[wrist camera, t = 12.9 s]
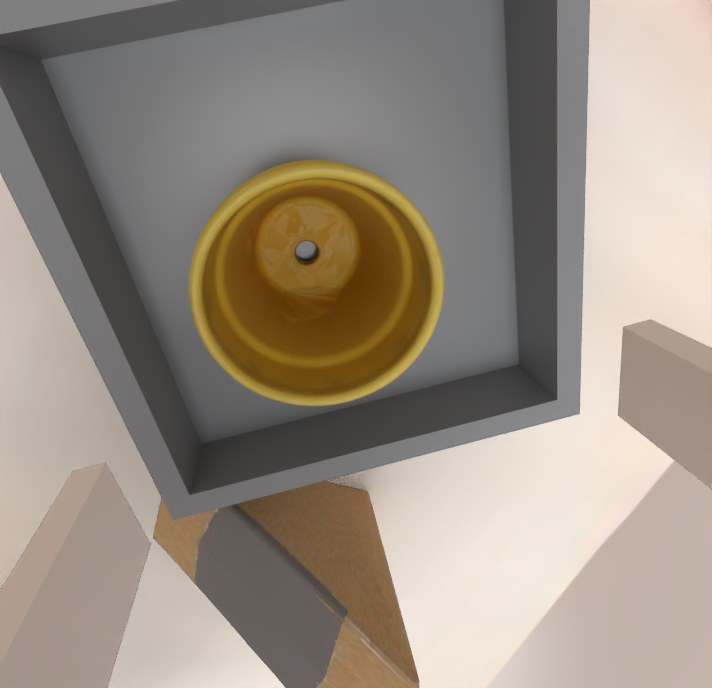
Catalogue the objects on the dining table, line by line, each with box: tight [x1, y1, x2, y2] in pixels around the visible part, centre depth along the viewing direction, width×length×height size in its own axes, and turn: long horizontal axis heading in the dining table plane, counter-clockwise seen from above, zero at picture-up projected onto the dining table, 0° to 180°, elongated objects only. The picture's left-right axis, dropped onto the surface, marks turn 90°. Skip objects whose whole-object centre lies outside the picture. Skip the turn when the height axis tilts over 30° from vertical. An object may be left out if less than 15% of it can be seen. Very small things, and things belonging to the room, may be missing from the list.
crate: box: [0, 0, 590, 520], centre depth 25 cm, size 26×26×6 cm
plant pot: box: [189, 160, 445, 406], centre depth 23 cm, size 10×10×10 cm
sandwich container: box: [153, 481, 419, 688], centre depth 29 cm, size 9×15×15 cm, turn 69°
